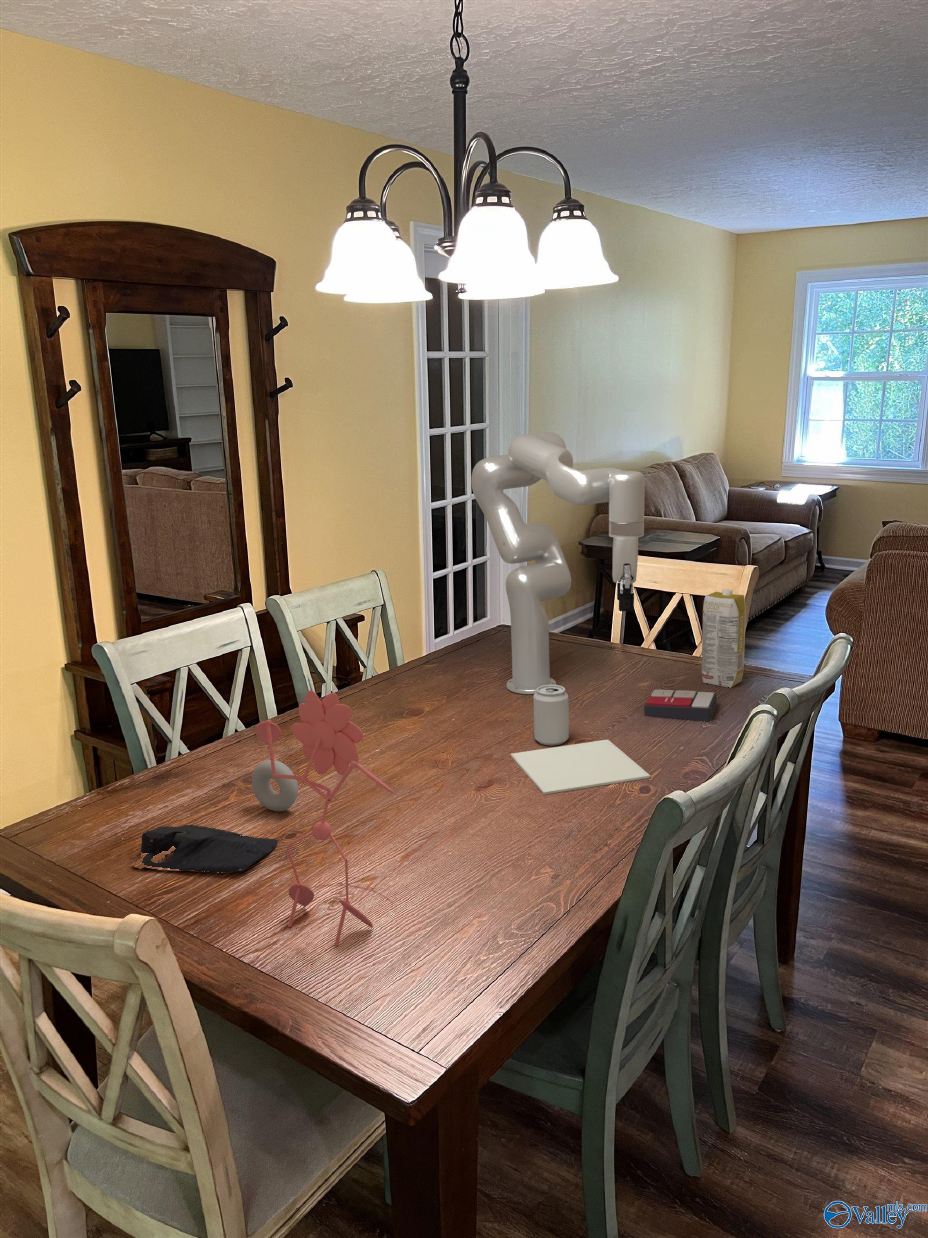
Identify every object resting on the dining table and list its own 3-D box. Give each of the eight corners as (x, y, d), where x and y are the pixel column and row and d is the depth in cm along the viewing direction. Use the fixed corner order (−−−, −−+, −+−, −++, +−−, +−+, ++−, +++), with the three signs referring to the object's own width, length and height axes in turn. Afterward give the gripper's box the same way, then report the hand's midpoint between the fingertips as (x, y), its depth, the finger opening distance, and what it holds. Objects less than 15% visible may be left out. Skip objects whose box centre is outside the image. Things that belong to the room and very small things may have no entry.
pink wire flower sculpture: (378, 968, 123) (364, 721, 115) (245, 914, 137) (224, 691, 129) (444, 915, 135) (435, 689, 127) (315, 871, 149) (300, 665, 141)
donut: (304, 811, 170) (299, 761, 167) (292, 819, 167) (288, 768, 164) (262, 802, 174) (257, 753, 172) (250, 809, 172) (244, 760, 169)
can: (573, 736, 200) (572, 684, 197) (562, 749, 194) (561, 695, 191) (541, 732, 204) (540, 681, 201) (529, 744, 197) (528, 691, 194)
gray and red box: (652, 687, 220) (716, 690, 214) (653, 704, 221) (717, 707, 215) (643, 702, 210) (710, 705, 204) (644, 720, 211) (710, 723, 205)
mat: (510, 756, 191) (510, 753, 191) (607, 741, 197) (607, 739, 197) (543, 794, 173) (543, 792, 172) (650, 777, 178) (650, 775, 178)
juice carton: (746, 681, 232) (749, 589, 226) (732, 690, 226) (735, 595, 220) (711, 675, 238) (714, 585, 232) (697, 683, 232) (700, 591, 226)
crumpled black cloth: (239, 888, 145) (236, 861, 144) (124, 871, 152) (120, 845, 151) (286, 843, 159) (284, 818, 158) (179, 829, 166) (176, 805, 165)
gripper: (607, 522, 206) (607, 596, 211) (610, 535, 190) (609, 615, 194) (641, 522, 206) (640, 596, 210) (646, 535, 189) (645, 615, 193)
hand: (625, 605), depth 202 cm, fingers open, 9 cm apart
